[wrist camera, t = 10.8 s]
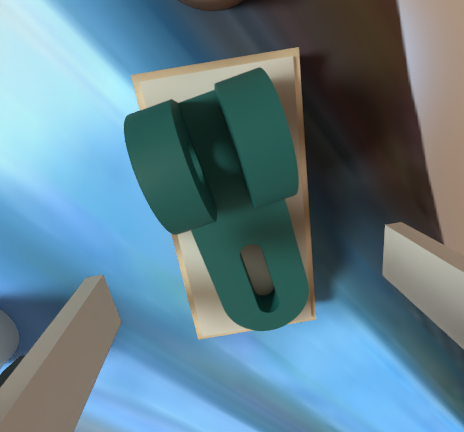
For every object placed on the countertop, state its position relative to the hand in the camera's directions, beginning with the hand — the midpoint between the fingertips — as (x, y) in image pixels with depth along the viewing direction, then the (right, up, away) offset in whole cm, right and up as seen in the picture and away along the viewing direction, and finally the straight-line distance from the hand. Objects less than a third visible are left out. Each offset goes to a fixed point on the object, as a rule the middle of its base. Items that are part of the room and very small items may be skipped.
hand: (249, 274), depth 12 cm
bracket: (0, +2, +8) cm, 9 cm away
